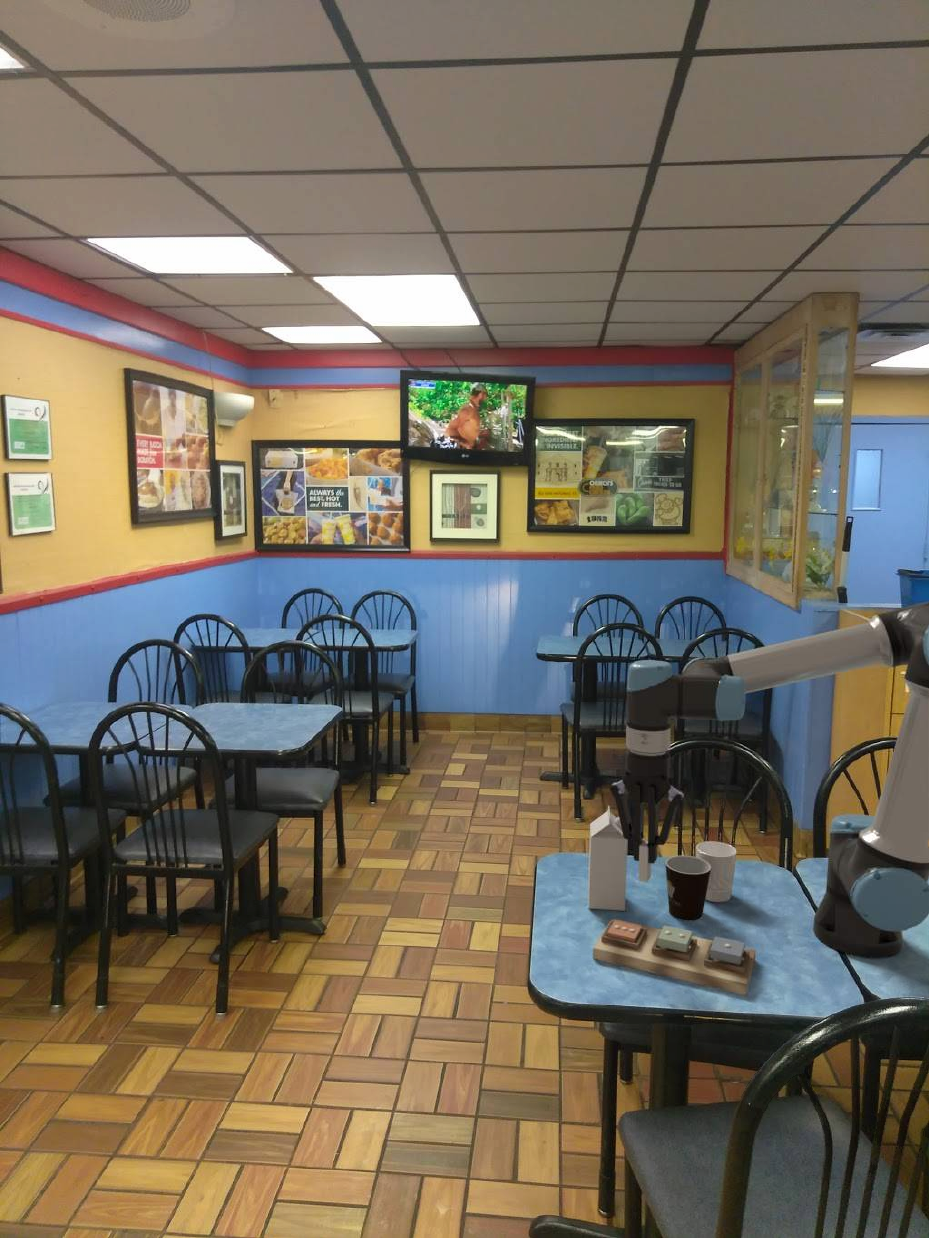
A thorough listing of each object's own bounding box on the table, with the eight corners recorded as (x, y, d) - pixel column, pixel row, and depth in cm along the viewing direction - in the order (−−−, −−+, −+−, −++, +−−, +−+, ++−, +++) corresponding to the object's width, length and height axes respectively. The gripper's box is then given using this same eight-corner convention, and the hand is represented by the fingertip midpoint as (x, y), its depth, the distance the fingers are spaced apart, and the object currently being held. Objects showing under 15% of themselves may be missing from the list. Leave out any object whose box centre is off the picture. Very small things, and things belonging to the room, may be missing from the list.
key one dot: (744, 950, 152) (745, 941, 152) (740, 964, 148) (740, 955, 148) (714, 944, 155) (715, 935, 154) (709, 957, 150) (710, 948, 150)
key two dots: (691, 939, 156) (692, 930, 156) (686, 952, 152) (686, 943, 151) (663, 933, 158) (664, 924, 158) (657, 945, 154) (657, 936, 154)
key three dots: (641, 933, 160) (641, 925, 160) (634, 946, 156) (634, 937, 155) (614, 927, 162) (614, 919, 162) (607, 940, 158) (607, 931, 158)
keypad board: (755, 960, 155) (756, 944, 155) (745, 995, 145) (746, 978, 144) (611, 928, 166) (612, 913, 166) (592, 958, 156) (593, 942, 155)
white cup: (706, 905, 176) (708, 858, 174) (687, 888, 183) (689, 842, 182) (741, 901, 178) (744, 854, 176) (721, 884, 185) (723, 839, 184)
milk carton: (588, 909, 174) (591, 817, 171) (587, 893, 181) (590, 804, 178) (625, 911, 173) (628, 819, 170) (622, 895, 180) (626, 806, 177)
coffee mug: (709, 925, 168) (712, 876, 166) (663, 920, 169) (665, 871, 168) (705, 898, 179) (708, 851, 178) (662, 894, 181) (664, 847, 179)
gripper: (605, 750, 152) (602, 880, 156) (681, 760, 147) (676, 894, 150) (617, 740, 159) (614, 864, 162) (690, 748, 153) (686, 877, 157)
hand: (644, 878), depth 156 cm, fingers closed
